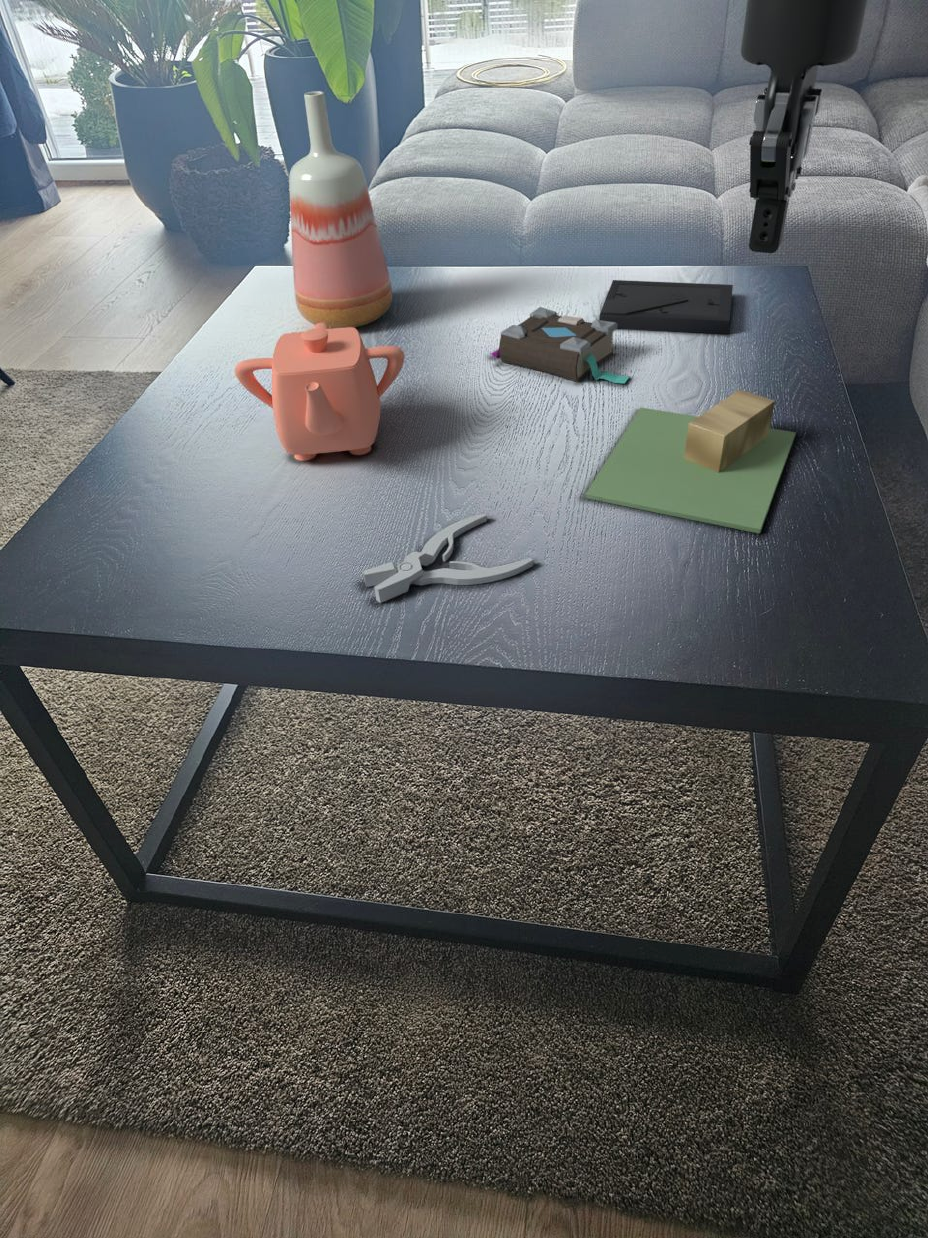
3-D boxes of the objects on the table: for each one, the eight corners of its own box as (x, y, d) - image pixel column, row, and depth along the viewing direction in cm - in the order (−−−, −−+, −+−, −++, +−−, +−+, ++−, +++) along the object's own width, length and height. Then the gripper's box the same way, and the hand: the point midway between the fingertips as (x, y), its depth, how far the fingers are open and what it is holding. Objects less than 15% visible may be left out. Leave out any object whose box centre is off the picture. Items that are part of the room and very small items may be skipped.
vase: (317, 298, 137) (281, 83, 117) (404, 300, 134) (382, 80, 115) (286, 336, 126) (240, 106, 107) (380, 338, 124) (350, 104, 104)
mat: (794, 436, 97) (796, 432, 97) (760, 534, 84) (761, 529, 83) (640, 411, 103) (640, 407, 103) (585, 498, 90) (585, 493, 90)
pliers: (534, 553, 81) (391, 609, 76) (534, 567, 82) (393, 623, 77) (482, 504, 88) (348, 553, 83) (483, 517, 89) (350, 566, 84)
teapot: (331, 396, 111) (313, 295, 102) (426, 427, 103) (415, 321, 95) (234, 454, 101) (205, 348, 93) (331, 493, 94) (309, 381, 85)
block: (683, 459, 94) (733, 424, 99) (718, 472, 91) (768, 436, 96) (688, 423, 91) (739, 388, 96) (724, 436, 88) (775, 400, 93)
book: (658, 357, 114) (661, 320, 111) (613, 394, 107) (616, 356, 104) (532, 328, 124) (532, 293, 120) (483, 360, 116) (482, 324, 113)
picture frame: (599, 327, 122) (727, 334, 118) (599, 312, 121) (730, 318, 117) (611, 292, 132) (731, 297, 128) (612, 277, 130) (733, 282, 126)
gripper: (770, -38, 61) (733, 219, 72) (729, -14, 52) (695, 274, 64) (884, -41, 58) (827, 226, 70) (860, -16, 50) (800, 284, 61)
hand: (764, 249), depth 67 cm, fingers closed
